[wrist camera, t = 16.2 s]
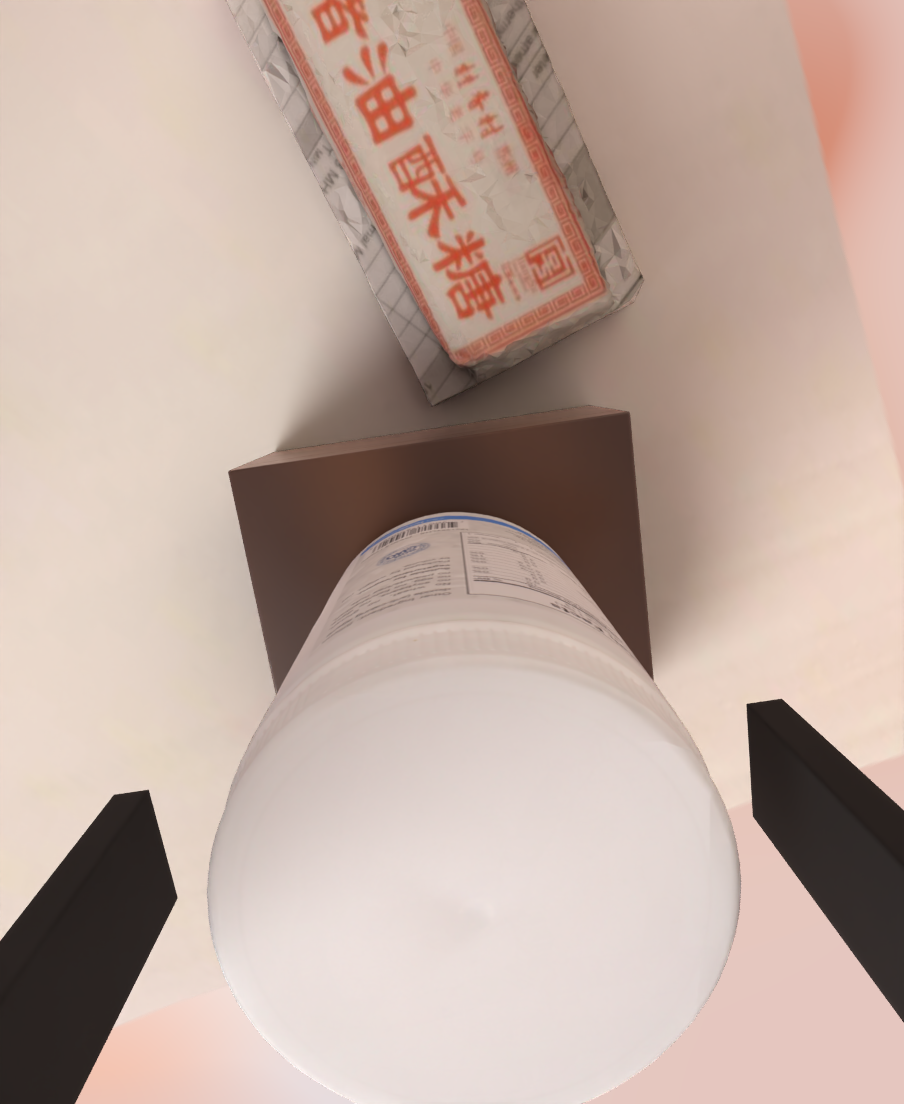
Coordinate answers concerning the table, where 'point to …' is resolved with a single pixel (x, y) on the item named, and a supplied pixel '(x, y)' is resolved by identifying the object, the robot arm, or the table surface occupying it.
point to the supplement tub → (470, 837)
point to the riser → (445, 510)
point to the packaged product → (448, 173)
